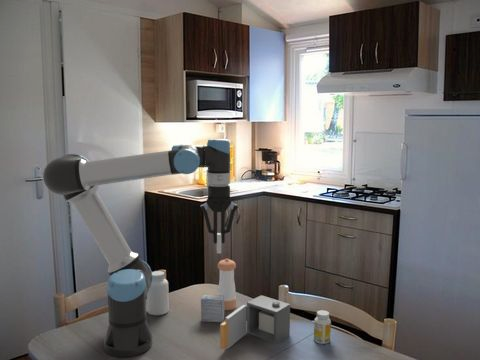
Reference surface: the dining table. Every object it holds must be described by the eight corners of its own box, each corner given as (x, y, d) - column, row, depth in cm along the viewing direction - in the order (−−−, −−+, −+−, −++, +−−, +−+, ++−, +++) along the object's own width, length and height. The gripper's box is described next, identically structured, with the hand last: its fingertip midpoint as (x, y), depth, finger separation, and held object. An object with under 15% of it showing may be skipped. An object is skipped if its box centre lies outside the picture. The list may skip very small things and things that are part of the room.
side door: (243, 332, 160) (243, 304, 158) (246, 333, 159) (246, 305, 158) (220, 351, 147) (220, 321, 146) (223, 352, 146) (223, 322, 145)
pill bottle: (158, 305, 183) (157, 268, 180) (173, 310, 178) (172, 272, 176) (142, 312, 176) (141, 273, 174) (158, 318, 172) (157, 278, 169)
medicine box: (224, 317, 172) (224, 295, 171) (222, 323, 168) (222, 299, 167) (203, 316, 173) (202, 294, 172) (200, 322, 169) (200, 298, 167)
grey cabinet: (242, 331, 162) (242, 298, 160) (256, 323, 168) (256, 291, 166) (276, 344, 153) (276, 309, 151) (289, 335, 159) (290, 301, 157)
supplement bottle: (315, 344, 153) (315, 316, 152) (312, 336, 159) (313, 309, 157) (331, 344, 153) (332, 316, 152) (328, 336, 158) (329, 309, 157)
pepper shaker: (216, 303, 185) (216, 255, 182) (235, 302, 186) (235, 255, 183) (217, 310, 178) (217, 261, 175) (237, 310, 179) (237, 261, 176)
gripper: (199, 186, 155) (200, 256, 159) (239, 186, 157) (238, 255, 160) (199, 183, 162) (199, 249, 166) (236, 182, 164) (236, 248, 167)
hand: (219, 252), depth 163 cm, fingers closed
